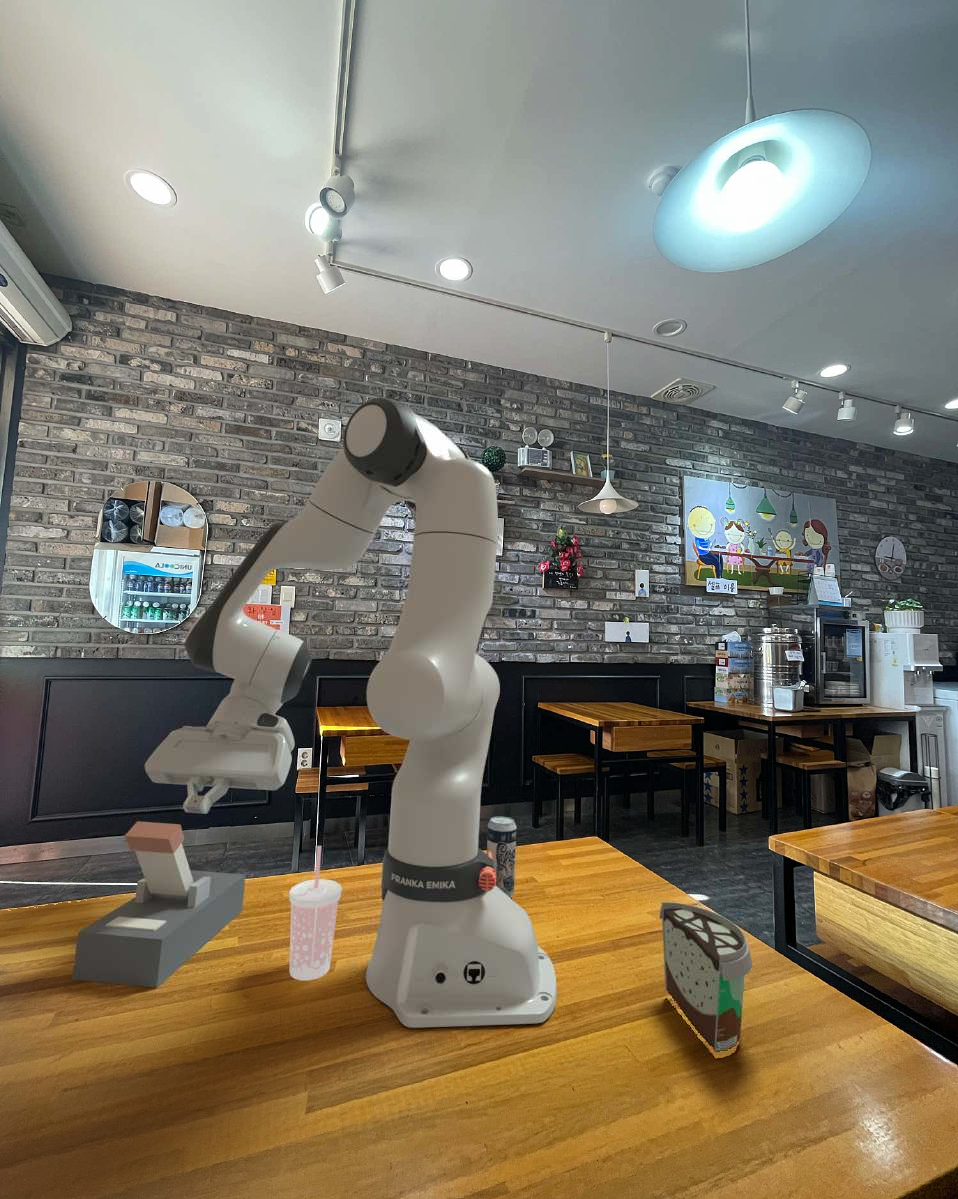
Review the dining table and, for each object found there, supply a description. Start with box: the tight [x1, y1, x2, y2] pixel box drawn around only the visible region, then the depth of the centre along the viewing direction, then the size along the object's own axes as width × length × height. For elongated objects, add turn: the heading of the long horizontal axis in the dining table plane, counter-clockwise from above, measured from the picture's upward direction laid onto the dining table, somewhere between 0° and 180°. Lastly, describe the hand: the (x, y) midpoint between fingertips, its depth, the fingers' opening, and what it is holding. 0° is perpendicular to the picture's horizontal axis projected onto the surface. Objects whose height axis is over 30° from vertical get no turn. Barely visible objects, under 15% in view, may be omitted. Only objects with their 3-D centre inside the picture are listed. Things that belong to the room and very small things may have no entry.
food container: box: [659, 901, 753, 1052], centre depth 56 cm, size 12×6×10 cm, turn 9°
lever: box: [124, 821, 194, 899], centre depth 65 cm, size 6×2×12 cm, turn 86°
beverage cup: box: [288, 845, 343, 981], centre depth 63 cm, size 6×6×14 cm
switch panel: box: [71, 869, 246, 989], centre depth 67 cm, size 10×18×8 cm, turn 176°
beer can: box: [486, 816, 517, 898], centre depth 84 cm, size 5×5×12 cm
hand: (194, 810), depth 71 cm, fingers closed
